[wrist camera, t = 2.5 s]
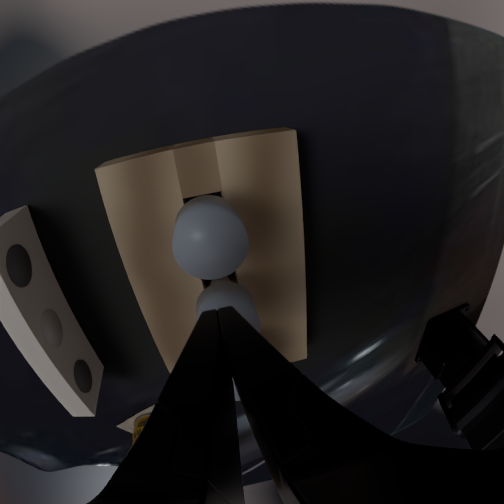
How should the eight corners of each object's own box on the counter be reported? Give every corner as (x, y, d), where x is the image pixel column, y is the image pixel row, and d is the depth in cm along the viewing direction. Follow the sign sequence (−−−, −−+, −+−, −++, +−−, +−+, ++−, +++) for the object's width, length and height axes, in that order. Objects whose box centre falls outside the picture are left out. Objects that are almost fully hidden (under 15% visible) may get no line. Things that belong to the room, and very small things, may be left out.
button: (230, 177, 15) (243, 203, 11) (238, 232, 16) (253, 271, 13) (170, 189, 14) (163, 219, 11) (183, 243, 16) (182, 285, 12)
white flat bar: (28, 204, 15) (-13, 239, 10) (105, 366, 21) (96, 416, 17) (5, 212, 14) (-36, 248, 10) (84, 368, 21) (73, 416, 17)
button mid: (242, 256, 17) (257, 300, 13) (249, 299, 18) (263, 346, 15) (189, 267, 17) (190, 313, 13) (201, 308, 18) (205, 358, 15)
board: (284, 127, 16) (296, 130, 14) (298, 340, 23) (306, 358, 22) (105, 161, 15) (94, 169, 13) (175, 365, 22) (175, 385, 21)
